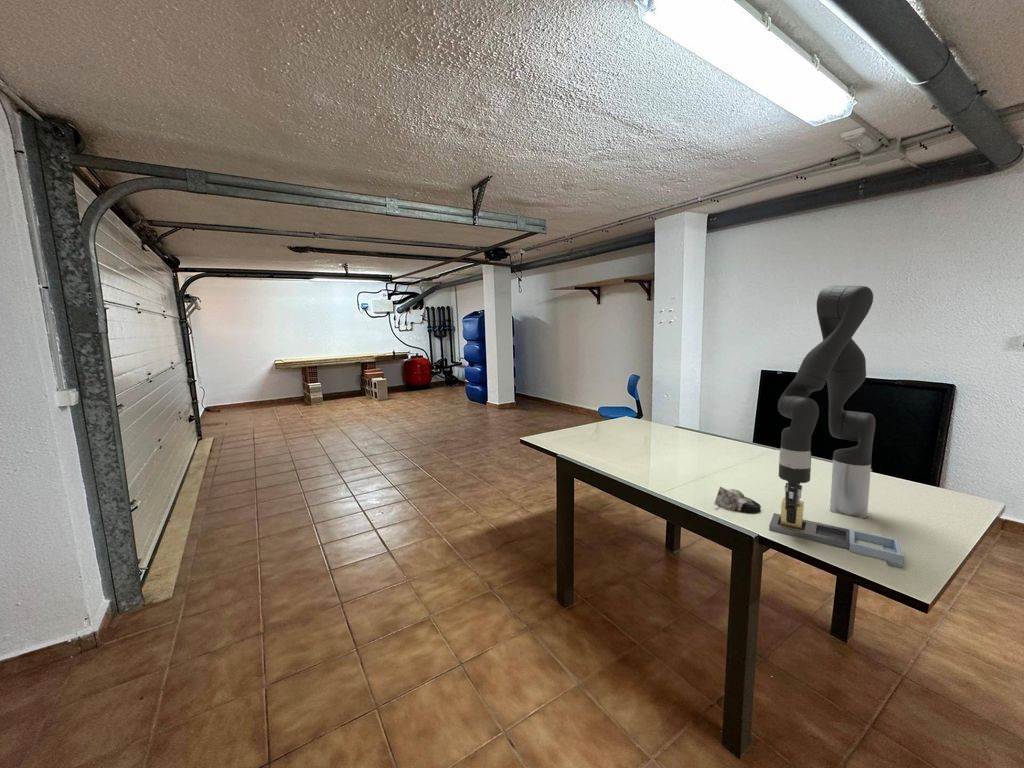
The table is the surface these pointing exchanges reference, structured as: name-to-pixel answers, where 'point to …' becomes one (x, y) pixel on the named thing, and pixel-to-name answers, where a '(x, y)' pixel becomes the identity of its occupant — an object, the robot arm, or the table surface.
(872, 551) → the parts tray
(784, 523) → the tan wooden block
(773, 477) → the table surface
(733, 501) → the camo sneaker
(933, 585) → the table surface
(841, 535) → the grey slotted tray
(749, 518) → the table surface
